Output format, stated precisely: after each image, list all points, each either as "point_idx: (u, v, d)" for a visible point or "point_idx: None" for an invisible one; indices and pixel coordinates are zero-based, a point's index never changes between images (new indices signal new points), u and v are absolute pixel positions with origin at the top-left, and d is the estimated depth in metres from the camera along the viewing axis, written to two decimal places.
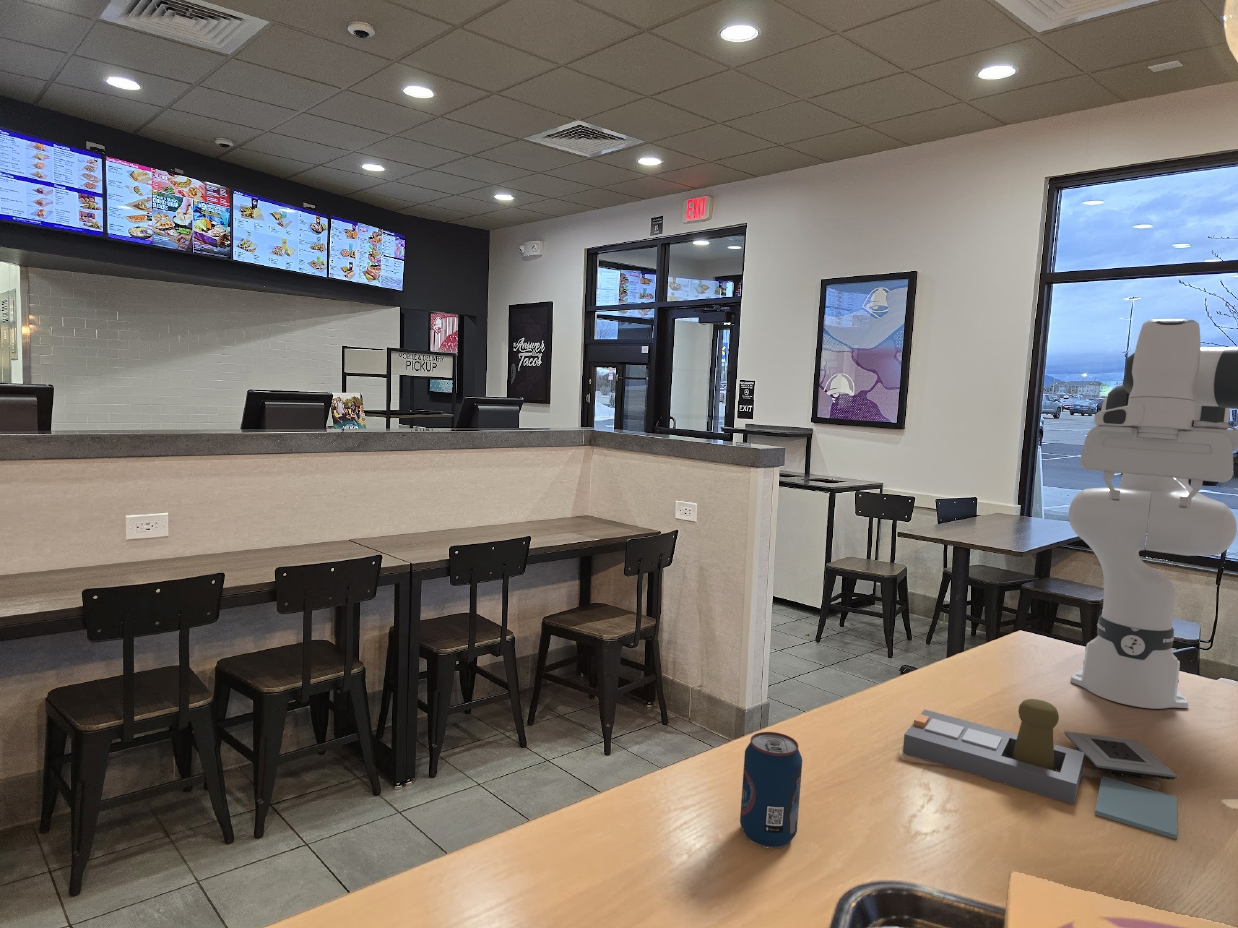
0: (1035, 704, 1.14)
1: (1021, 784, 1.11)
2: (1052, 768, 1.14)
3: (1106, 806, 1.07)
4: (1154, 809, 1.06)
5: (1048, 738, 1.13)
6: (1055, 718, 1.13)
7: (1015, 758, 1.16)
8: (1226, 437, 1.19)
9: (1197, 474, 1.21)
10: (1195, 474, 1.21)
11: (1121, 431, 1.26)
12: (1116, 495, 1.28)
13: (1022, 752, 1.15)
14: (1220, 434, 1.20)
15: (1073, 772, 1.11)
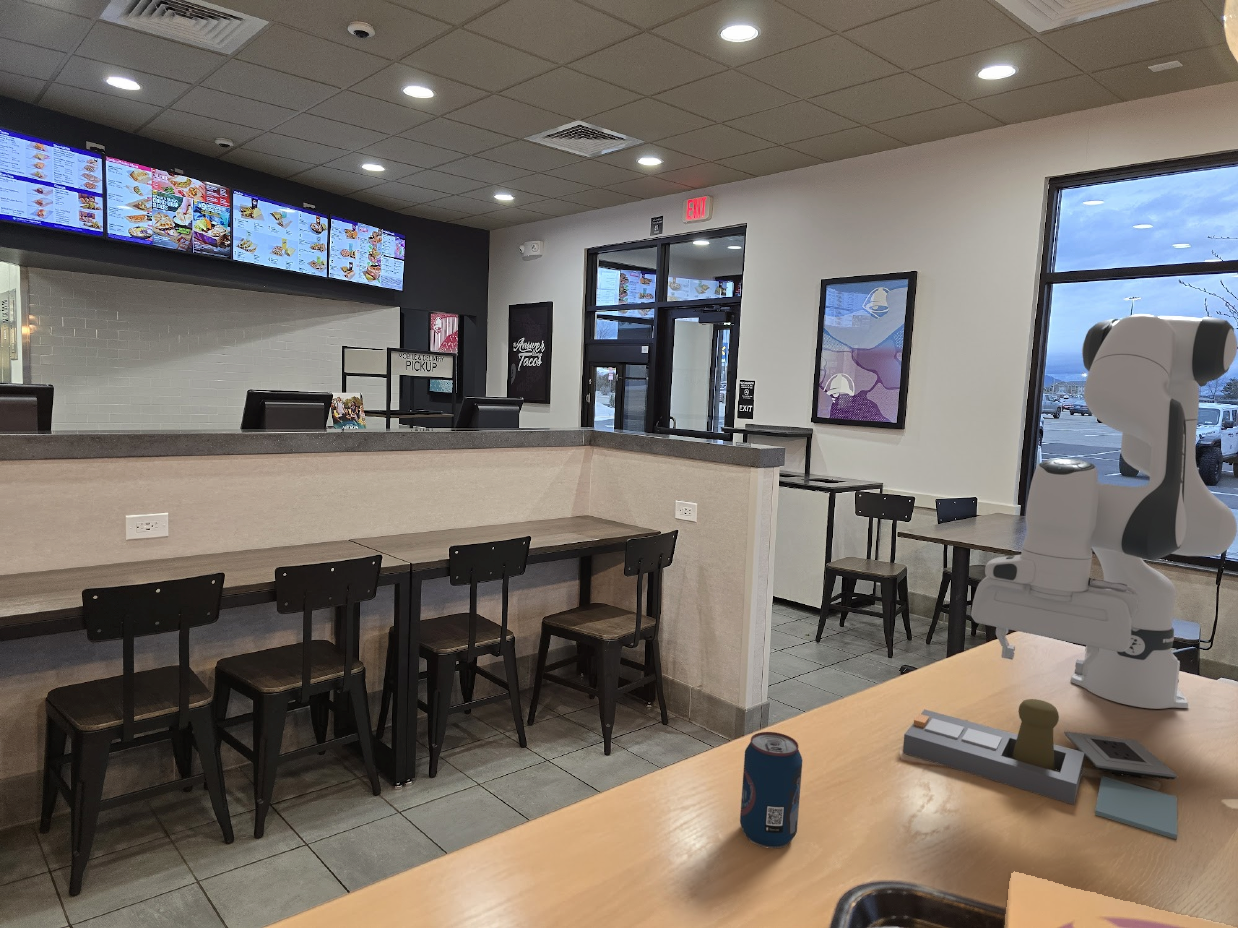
0: (1035, 704, 1.14)
1: (1021, 784, 1.11)
2: (1052, 768, 1.14)
3: (1106, 806, 1.07)
4: (1154, 809, 1.06)
5: (1048, 738, 1.13)
6: (1055, 718, 1.13)
7: (1015, 758, 1.16)
8: (1123, 603, 1.07)
9: (1092, 641, 1.09)
10: (1090, 641, 1.09)
11: (1012, 587, 1.13)
12: (1009, 653, 1.16)
13: (1022, 752, 1.15)
14: (1117, 599, 1.07)
15: (1073, 772, 1.11)
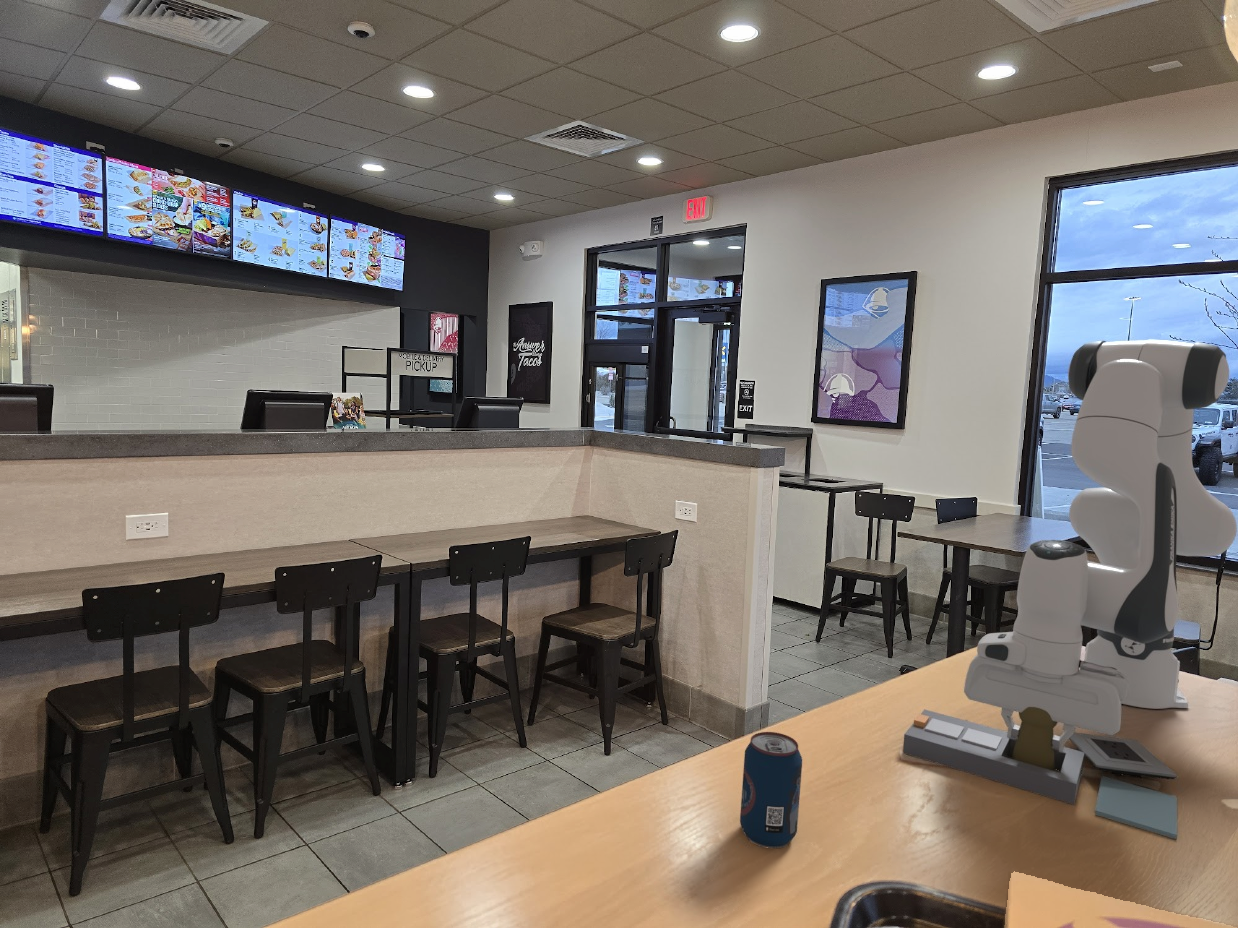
0: None
1: (1021, 784, 1.11)
2: (1052, 768, 1.14)
3: (1106, 806, 1.07)
4: (1154, 809, 1.06)
5: (1048, 738, 1.13)
6: None
7: (1015, 758, 1.16)
8: (1113, 688, 1.08)
9: (1083, 724, 1.10)
10: (1081, 723, 1.10)
11: (1004, 667, 1.15)
12: (1015, 734, 1.16)
13: (1022, 752, 1.15)
14: (1106, 684, 1.08)
15: (1073, 772, 1.11)
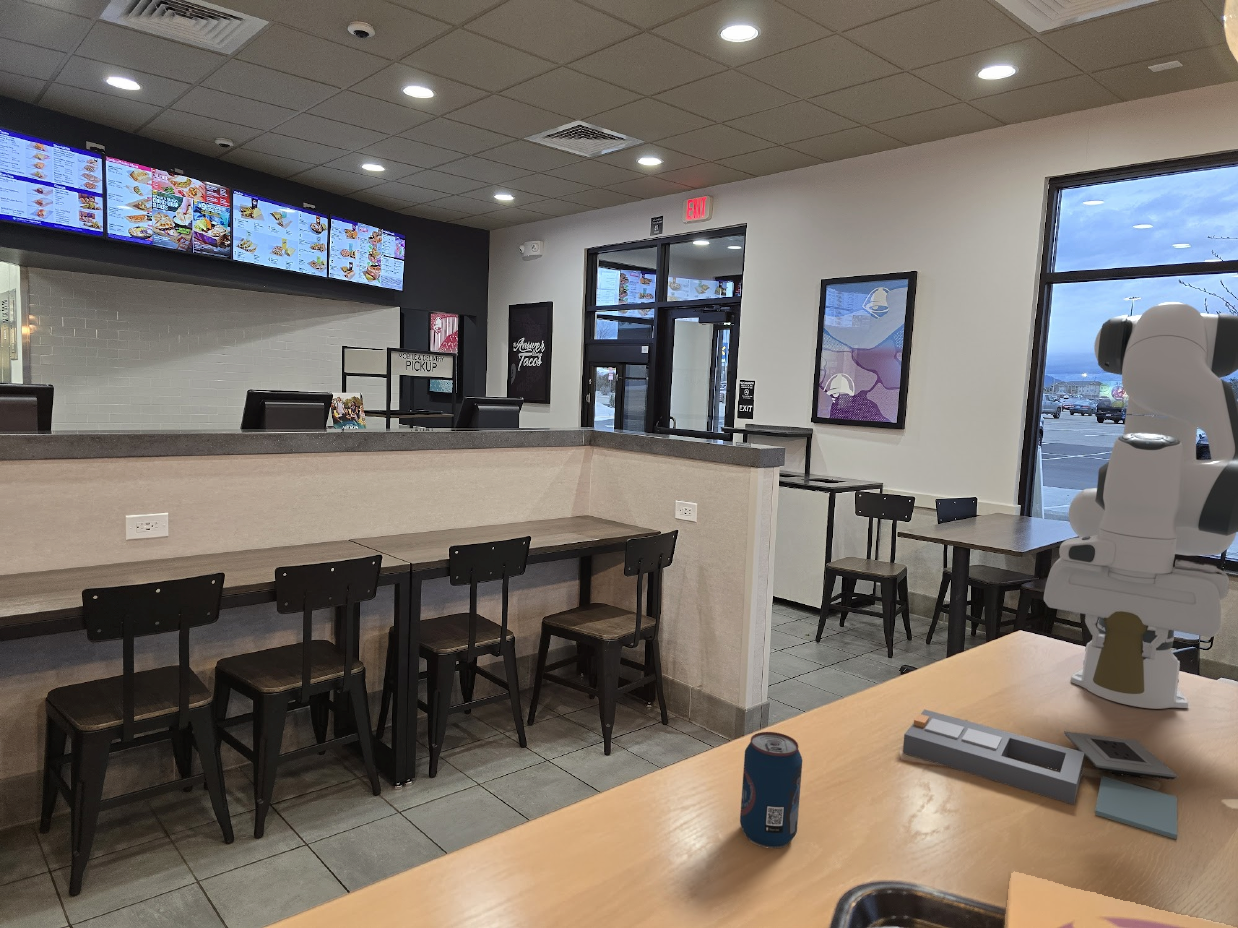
0: None
1: (1021, 784, 1.11)
2: (1142, 677, 1.06)
3: (1106, 806, 1.07)
4: (1154, 809, 1.06)
5: (1138, 644, 1.06)
6: None
7: (1100, 668, 1.08)
8: (1213, 585, 1.00)
9: (1178, 626, 1.02)
10: (1176, 626, 1.03)
11: (1089, 569, 1.07)
12: (1100, 643, 1.09)
13: (1109, 661, 1.07)
14: (1205, 581, 1.01)
15: (1073, 772, 1.11)
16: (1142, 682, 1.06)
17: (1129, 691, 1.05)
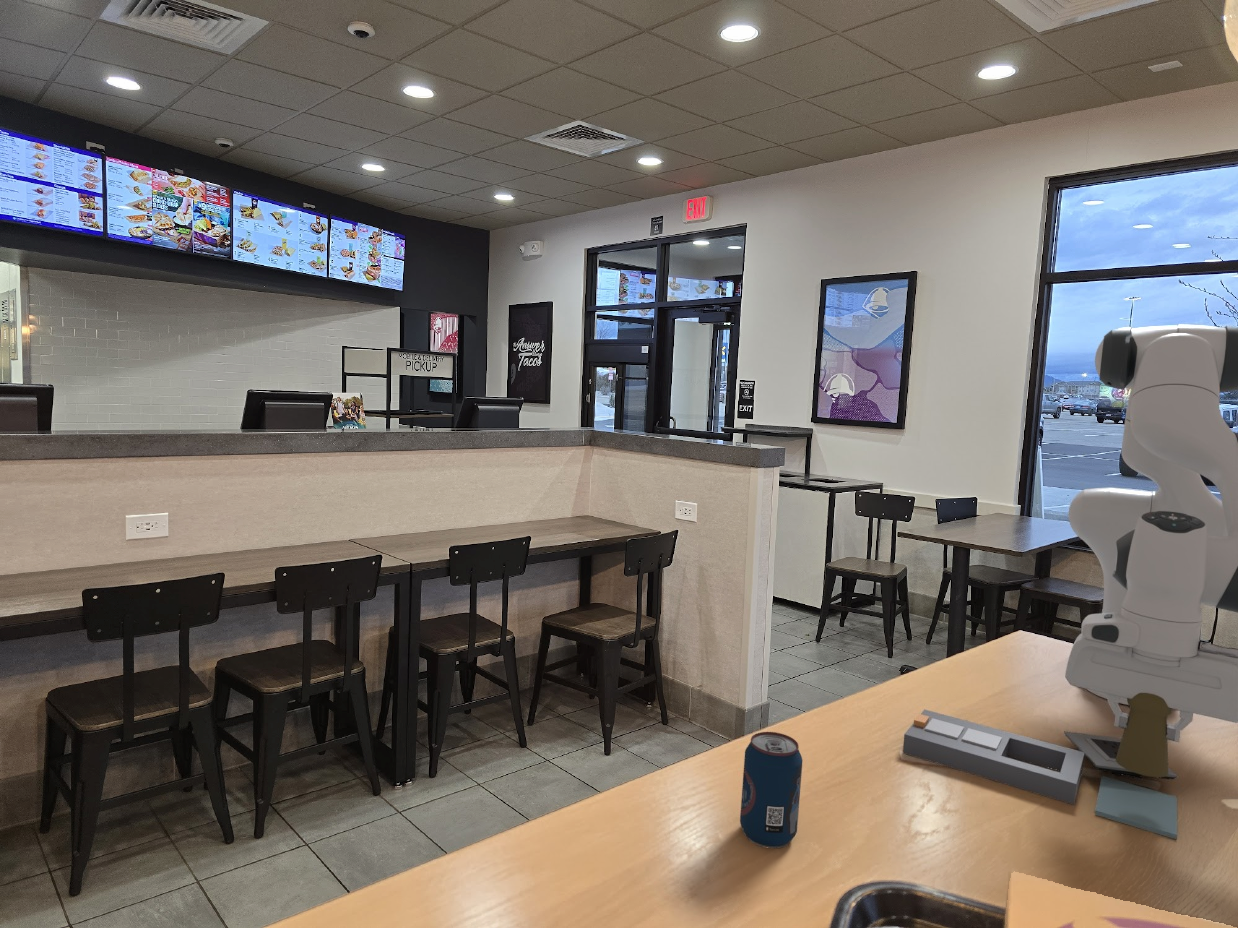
0: None
1: (1021, 784, 1.11)
2: (1166, 759, 1.05)
3: (1106, 806, 1.07)
4: (1154, 809, 1.06)
5: (1163, 726, 1.04)
6: None
7: (1124, 749, 1.07)
8: None
9: (1203, 710, 1.01)
10: (1201, 710, 1.01)
11: (1113, 650, 1.06)
12: (1123, 723, 1.07)
13: (1133, 742, 1.06)
14: (1232, 666, 0.99)
15: (1073, 772, 1.11)
16: (1166, 764, 1.05)
17: (1154, 774, 1.04)
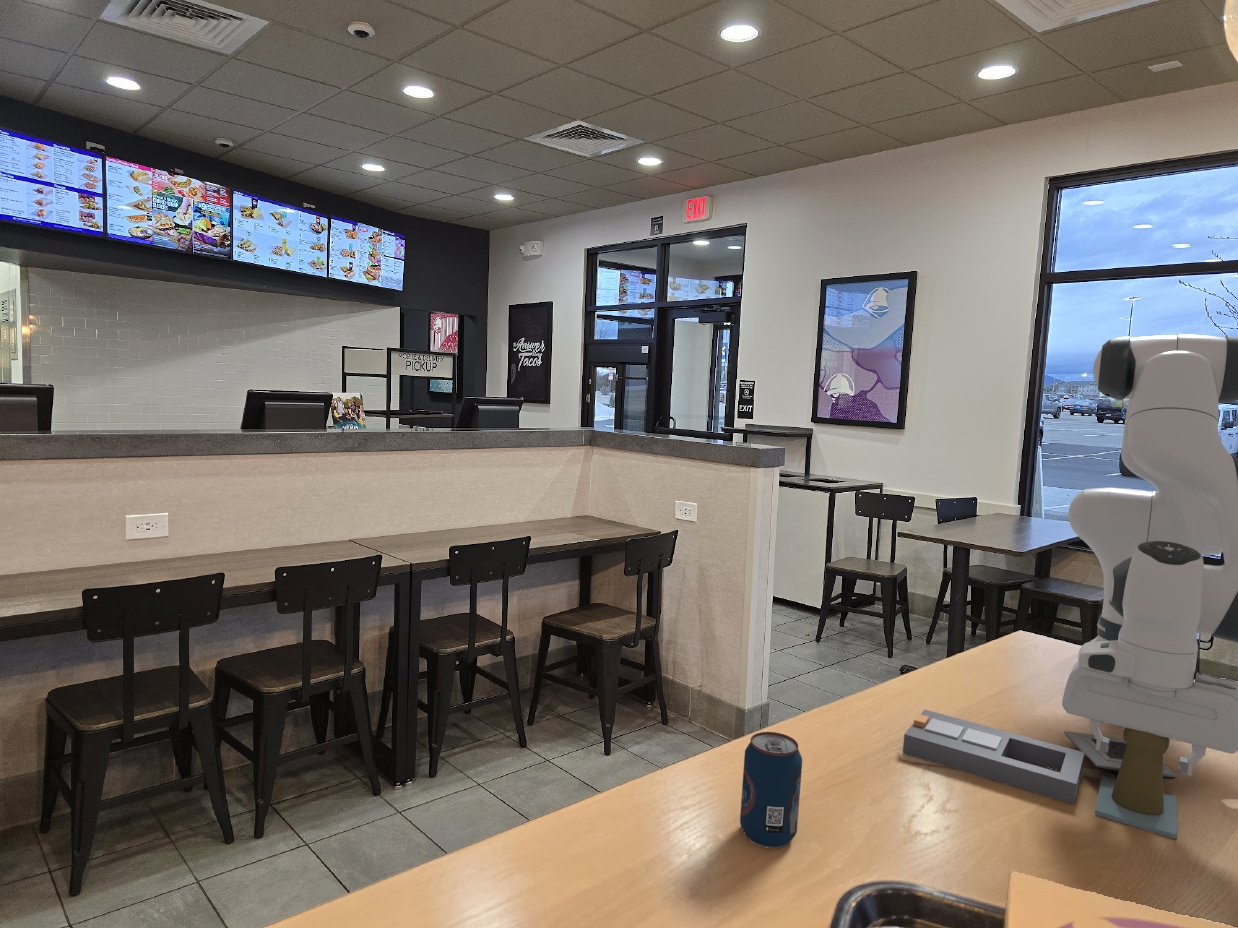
0: None
1: (1021, 784, 1.11)
2: (1162, 797, 1.05)
3: (1106, 806, 1.07)
4: None
5: (1158, 764, 1.05)
6: (1166, 743, 1.05)
7: (1120, 786, 1.07)
8: (1234, 702, 1.00)
9: (1199, 741, 1.02)
10: (1197, 740, 1.02)
11: (1109, 679, 1.06)
12: (1104, 747, 1.09)
13: (1129, 779, 1.06)
14: (1227, 698, 1.00)
15: (1073, 772, 1.11)
16: (1162, 802, 1.05)
17: (1149, 812, 1.05)
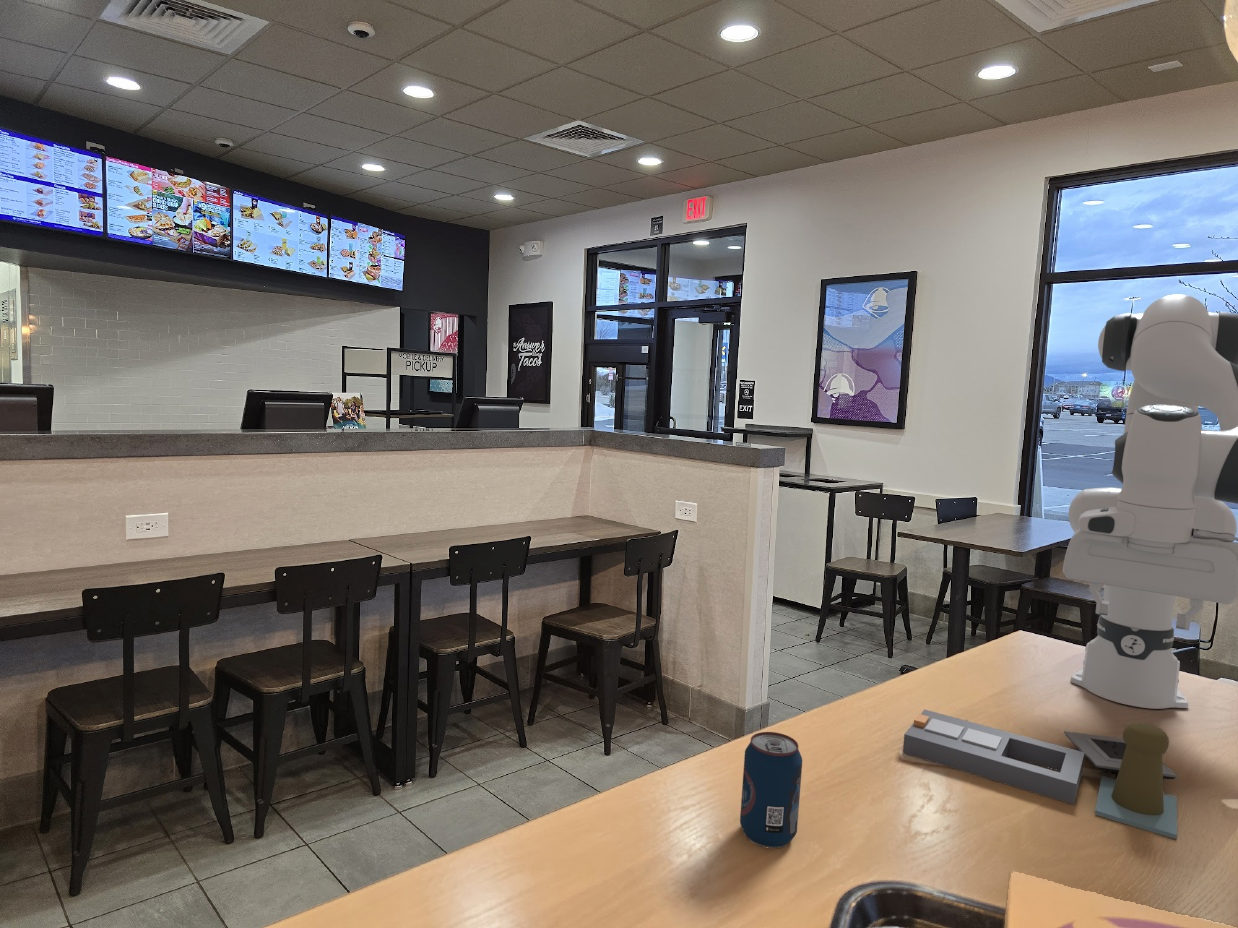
0: (1144, 729, 1.06)
1: (1021, 784, 1.11)
2: (1162, 797, 1.05)
3: (1106, 806, 1.07)
4: None
5: (1158, 765, 1.05)
6: (1166, 744, 1.05)
7: (1120, 786, 1.07)
8: (1231, 554, 1.02)
9: (1197, 594, 1.04)
10: (1194, 594, 1.05)
11: (1109, 540, 1.09)
12: (1104, 609, 1.11)
13: (1129, 780, 1.06)
14: (1224, 550, 1.02)
15: (1073, 772, 1.11)
16: (1162, 802, 1.05)
17: (1149, 812, 1.05)
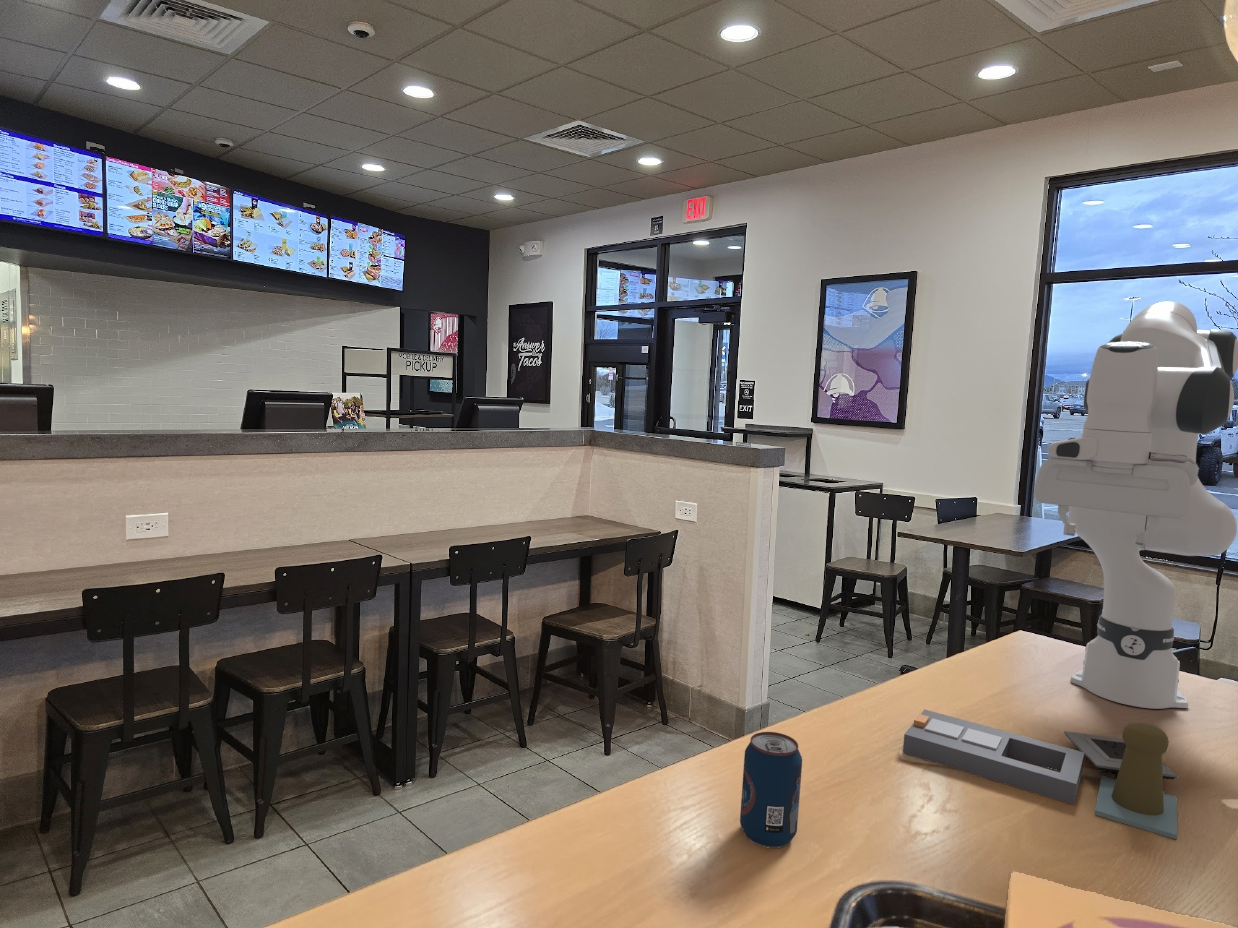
0: (1143, 729, 1.06)
1: (1021, 784, 1.11)
2: (1162, 797, 1.05)
3: (1106, 806, 1.07)
4: None
5: (1158, 765, 1.05)
6: (1166, 744, 1.05)
7: (1120, 786, 1.07)
8: (1183, 472, 1.12)
9: (1153, 511, 1.15)
10: (1151, 511, 1.15)
11: (1075, 465, 1.19)
12: (1071, 530, 1.22)
13: (1128, 780, 1.06)
14: (1177, 469, 1.13)
15: (1073, 772, 1.11)
16: (1162, 802, 1.05)
17: (1149, 812, 1.05)
